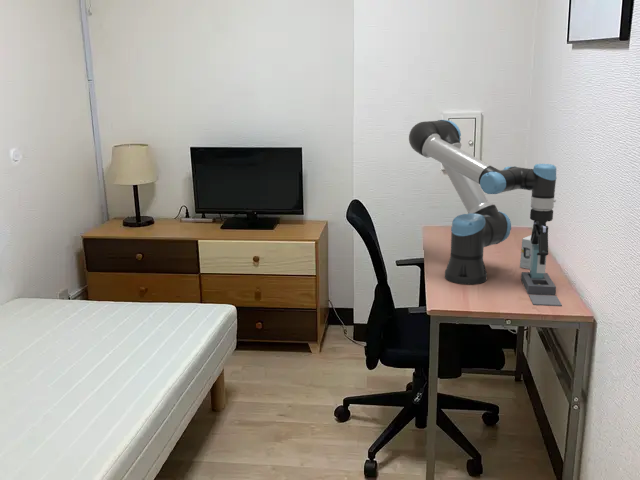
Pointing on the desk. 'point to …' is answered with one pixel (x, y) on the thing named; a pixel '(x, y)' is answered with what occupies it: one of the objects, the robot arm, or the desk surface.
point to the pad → (545, 300)
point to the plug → (535, 263)
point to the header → (538, 284)
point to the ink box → (526, 252)
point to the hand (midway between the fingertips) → (537, 267)
